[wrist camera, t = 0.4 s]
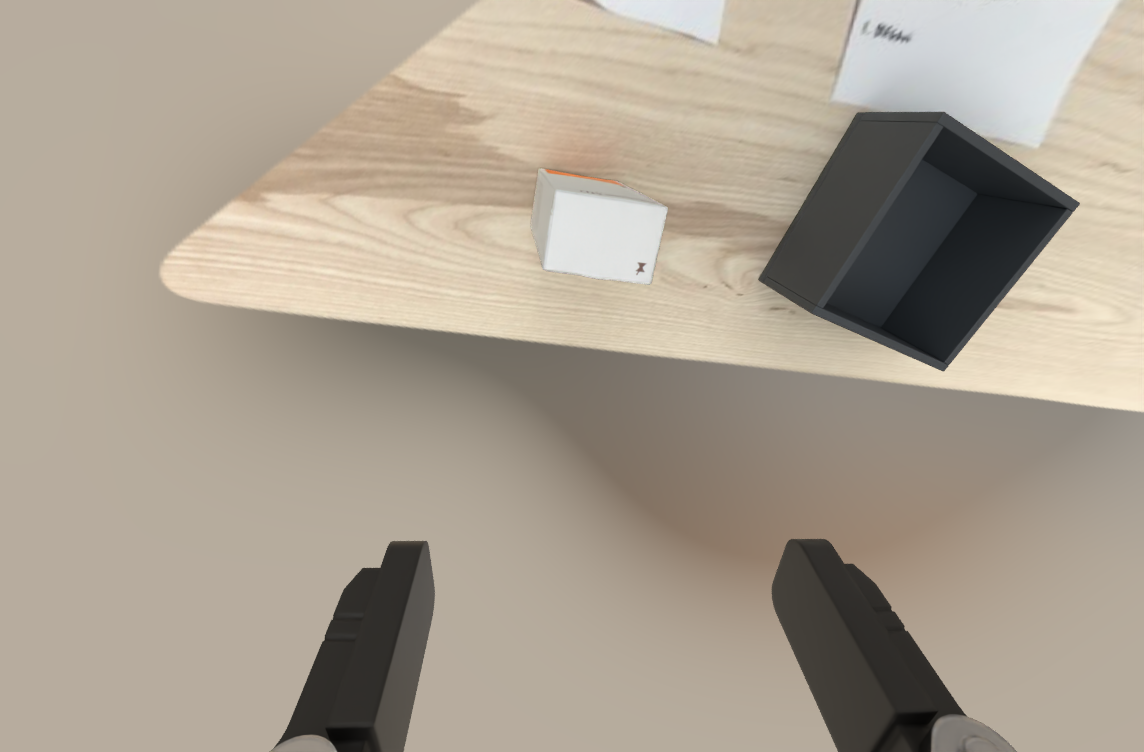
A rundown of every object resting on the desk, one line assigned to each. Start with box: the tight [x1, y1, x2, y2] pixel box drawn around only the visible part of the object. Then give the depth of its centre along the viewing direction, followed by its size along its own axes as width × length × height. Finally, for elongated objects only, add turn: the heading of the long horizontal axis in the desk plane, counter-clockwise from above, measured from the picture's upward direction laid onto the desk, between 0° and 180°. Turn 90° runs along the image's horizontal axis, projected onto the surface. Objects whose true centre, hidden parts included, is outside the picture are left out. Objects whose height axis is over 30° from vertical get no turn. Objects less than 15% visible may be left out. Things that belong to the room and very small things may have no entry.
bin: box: [759, 112, 1080, 371], centre depth 37 cm, size 13×13×8 cm
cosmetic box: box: [531, 168, 668, 285], centre depth 30 cm, size 6×4×12 cm
